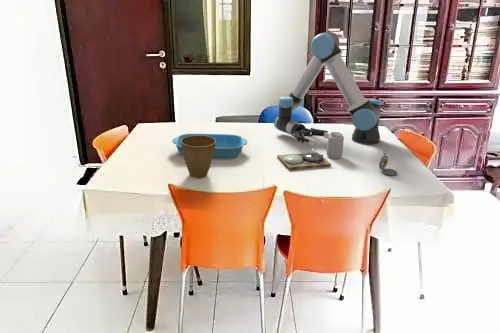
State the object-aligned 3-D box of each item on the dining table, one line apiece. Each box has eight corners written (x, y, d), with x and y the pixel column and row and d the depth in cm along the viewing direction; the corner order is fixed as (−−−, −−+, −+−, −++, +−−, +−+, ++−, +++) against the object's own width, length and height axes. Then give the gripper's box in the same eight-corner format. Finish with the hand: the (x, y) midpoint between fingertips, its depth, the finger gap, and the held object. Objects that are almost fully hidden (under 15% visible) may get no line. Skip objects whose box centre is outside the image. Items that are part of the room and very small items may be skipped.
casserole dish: (246, 146, 227) (246, 133, 225) (248, 161, 207) (248, 147, 204) (175, 145, 225) (175, 132, 223) (170, 161, 205) (169, 147, 202)
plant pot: (187, 183, 181) (186, 147, 175) (178, 170, 194) (176, 137, 188) (220, 178, 187) (220, 143, 181) (209, 166, 199) (209, 133, 193)
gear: (318, 154, 214) (318, 145, 212) (327, 161, 204) (328, 152, 203) (298, 155, 211) (298, 146, 209) (306, 163, 202) (307, 154, 200)
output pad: (298, 156, 210) (298, 154, 210) (305, 163, 202) (305, 161, 202) (280, 157, 208) (280, 155, 207) (287, 164, 200) (287, 162, 199)
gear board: (316, 154, 217) (317, 152, 216) (330, 166, 203) (331, 163, 202) (277, 158, 211) (277, 155, 211) (288, 170, 197) (288, 167, 197)
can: (324, 154, 218) (326, 131, 214) (339, 153, 219) (341, 131, 214) (328, 159, 211) (330, 136, 207) (343, 159, 212) (346, 136, 208)
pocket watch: (397, 176, 193) (401, 156, 190) (378, 175, 195) (381, 154, 191) (395, 170, 201) (399, 149, 197) (377, 168, 202) (380, 148, 199)
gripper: (312, 132, 242) (340, 143, 226) (277, 139, 229) (305, 151, 213) (313, 119, 240) (341, 129, 224) (278, 126, 226) (306, 137, 210)
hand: (324, 140), depth 218 cm, fingers open, 13 cm apart
